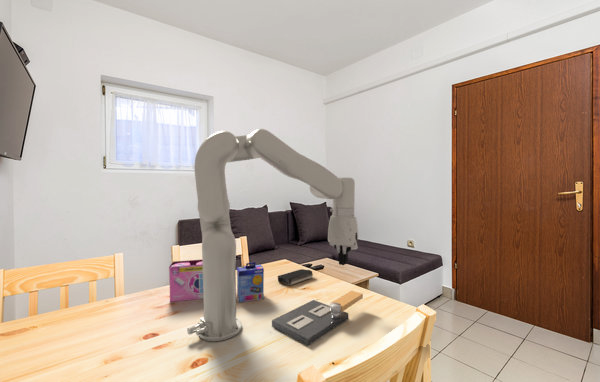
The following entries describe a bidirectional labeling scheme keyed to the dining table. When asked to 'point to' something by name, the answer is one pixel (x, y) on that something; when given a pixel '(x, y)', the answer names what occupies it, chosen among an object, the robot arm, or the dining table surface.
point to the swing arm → (345, 301)
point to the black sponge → (295, 276)
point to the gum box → (186, 280)
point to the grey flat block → (309, 322)
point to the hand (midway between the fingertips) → (343, 263)
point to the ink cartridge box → (250, 282)
